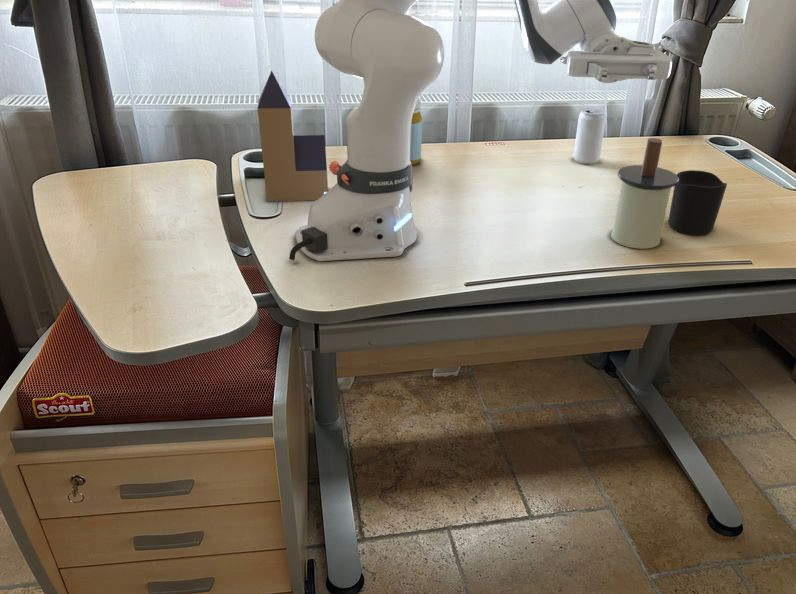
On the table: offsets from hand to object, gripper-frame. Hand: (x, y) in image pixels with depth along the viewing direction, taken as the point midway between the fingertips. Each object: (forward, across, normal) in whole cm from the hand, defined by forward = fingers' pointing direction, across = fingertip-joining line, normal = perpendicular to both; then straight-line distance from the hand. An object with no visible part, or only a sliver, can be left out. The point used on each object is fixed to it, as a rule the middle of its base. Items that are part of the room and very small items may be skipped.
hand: (628, 74), depth 134 cm
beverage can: (-32, +4, +27) cm, 42 cm away
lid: (+13, +3, +15) cm, 20 cm away
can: (+13, +3, +27) cm, 31 cm away
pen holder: (+8, +16, +27) cm, 32 cm away
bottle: (-30, -40, +28) cm, 57 cm away
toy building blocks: (-14, -64, +28) cm, 71 cm away
